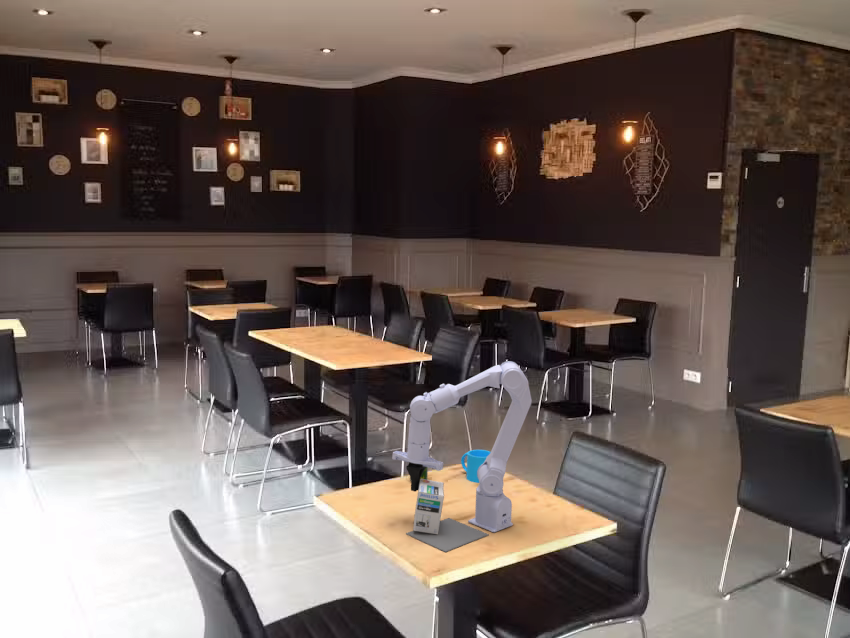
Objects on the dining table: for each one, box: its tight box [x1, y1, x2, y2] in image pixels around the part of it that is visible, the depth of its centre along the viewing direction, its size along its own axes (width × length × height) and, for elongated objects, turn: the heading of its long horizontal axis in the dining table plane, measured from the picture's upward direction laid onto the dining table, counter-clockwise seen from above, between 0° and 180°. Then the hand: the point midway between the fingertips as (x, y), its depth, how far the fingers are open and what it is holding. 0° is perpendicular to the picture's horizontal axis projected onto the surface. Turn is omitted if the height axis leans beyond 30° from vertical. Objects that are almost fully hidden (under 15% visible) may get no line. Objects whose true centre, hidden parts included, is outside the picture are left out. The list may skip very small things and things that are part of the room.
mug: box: [460, 449, 491, 484], centre depth 251 cm, size 12×8×8 cm
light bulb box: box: [412, 479, 445, 534], centre depth 209 cm, size 11×7×11 cm, turn 179°
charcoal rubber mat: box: [405, 517, 490, 553], centre depth 206 cm, size 14×16×1 cm
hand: (415, 490), depth 213 cm, fingers closed, pressing on light bulb box
